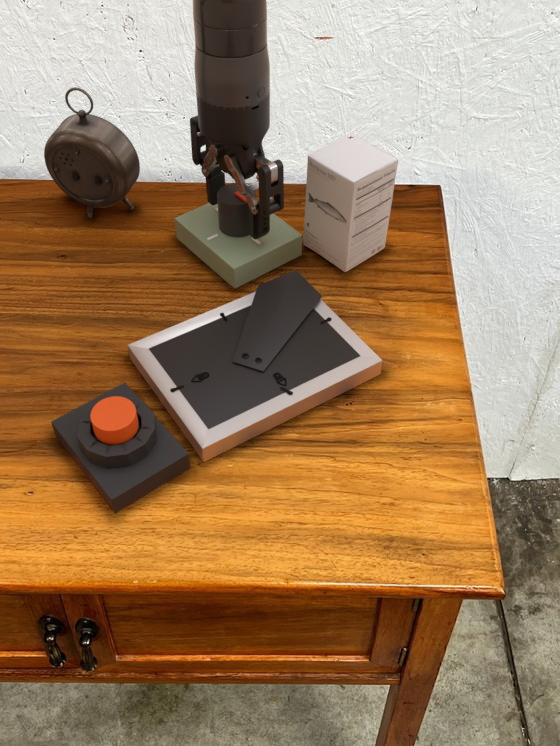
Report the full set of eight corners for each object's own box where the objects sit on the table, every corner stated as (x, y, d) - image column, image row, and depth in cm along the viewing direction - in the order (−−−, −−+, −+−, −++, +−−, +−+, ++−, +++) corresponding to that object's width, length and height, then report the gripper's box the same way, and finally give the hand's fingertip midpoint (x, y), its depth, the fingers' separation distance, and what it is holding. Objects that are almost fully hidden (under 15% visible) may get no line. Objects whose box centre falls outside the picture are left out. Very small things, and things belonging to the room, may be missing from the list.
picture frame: (295, 288, 89) (130, 358, 81) (296, 269, 86) (126, 339, 79) (380, 374, 80) (203, 462, 72) (383, 355, 78) (201, 443, 70)
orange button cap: (85, 424, 70) (81, 410, 69) (124, 403, 72) (121, 389, 70) (108, 452, 68) (104, 438, 67) (147, 430, 70) (144, 416, 68)
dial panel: (176, 238, 95) (173, 216, 92) (241, 208, 99) (241, 187, 97) (234, 289, 88) (233, 267, 86) (301, 255, 93) (302, 233, 90)
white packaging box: (300, 245, 94) (304, 153, 85) (343, 221, 97) (352, 130, 88) (344, 275, 90) (353, 182, 81) (387, 249, 94) (400, 156, 84)
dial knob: (211, 224, 92) (209, 189, 88) (241, 210, 94) (240, 176, 90) (233, 242, 89) (232, 207, 86) (263, 227, 91) (263, 193, 88)
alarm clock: (147, 204, 99) (130, 84, 87) (129, 229, 96) (109, 107, 84) (70, 189, 101) (44, 69, 89) (49, 212, 98) (19, 91, 86)
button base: (55, 436, 74) (46, 409, 71) (128, 396, 77) (122, 369, 74) (115, 513, 68) (108, 488, 65) (190, 467, 72) (187, 441, 69)
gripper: (163, 70, 81) (176, 202, 93) (245, 126, 73) (249, 261, 85) (221, 50, 84) (227, 180, 96) (306, 102, 77) (301, 236, 89)
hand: (237, 218), depth 91 cm, fingers open, 8 cm apart
